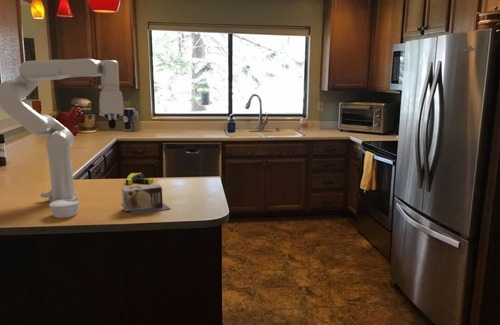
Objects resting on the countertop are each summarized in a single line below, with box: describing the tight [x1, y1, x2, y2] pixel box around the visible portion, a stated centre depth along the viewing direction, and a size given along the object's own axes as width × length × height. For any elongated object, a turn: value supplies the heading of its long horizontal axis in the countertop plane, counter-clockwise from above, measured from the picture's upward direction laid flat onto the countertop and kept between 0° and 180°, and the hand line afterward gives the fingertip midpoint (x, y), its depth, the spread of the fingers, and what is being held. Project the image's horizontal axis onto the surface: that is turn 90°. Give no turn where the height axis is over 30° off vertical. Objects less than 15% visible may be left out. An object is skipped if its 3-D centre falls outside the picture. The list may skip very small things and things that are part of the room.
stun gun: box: [125, 172, 154, 186], centre depth 234 cm, size 3×19×15 cm
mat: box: [121, 202, 171, 216], centre depth 185 cm, size 16×18×1 cm
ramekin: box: [48, 199, 80, 219], centre depth 173 cm, size 11×11×5 cm
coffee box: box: [121, 184, 164, 212], centre depth 182 cm, size 9×6×16 cm
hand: (112, 128), depth 194 cm, fingers closed
